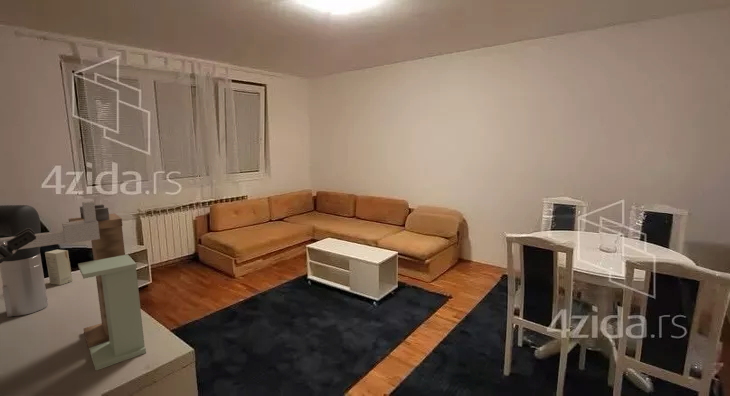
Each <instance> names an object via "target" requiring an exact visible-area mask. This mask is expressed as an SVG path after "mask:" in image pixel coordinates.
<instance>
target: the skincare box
mask: <svg viewBox="0 0 730 396" xmlns="http://www.w3.org/2000/svg"><path fill="white" fill-rule="evenodd" d="M44 255H45V261H46V267H47V273H48V279H49V284H52V285H57V286H62V285H65V284H67V283H71V282H73V273H72V269H71V268H72V267H71V261H70V258H69V257H70V256H69V250H68V249H67V250H66V249H53V250H50V251H45V252H44Z"/></svg>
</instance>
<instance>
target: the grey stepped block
mask: <svg viewBox="0 0 730 396" xmlns="http://www.w3.org/2000/svg"><path fill="white" fill-rule="evenodd" d="M81 204H82V205H81V206H83V215H84V220H83V221H74V222H69V221H66V222H62V223H61V224H62V230H58V231H57V230H56V231H49V232H41V233H38V234H34V235H35V236H36V239H35V240H33V241H32V242H30V243H28V244H26V245H25V246H23V247H21V248H19V249H26V248H33V247H40V246H41V247H48V246H53V245H61V244H65V245H66V244H67V245H68V244H74V243H80V242H81V243H82V242H88V241H91V240H97V239H100V235H99V225H98V221H97V220H96V213H95V205H96V204H95V201H93V200H92V201H91V200H89V201H82V202H81ZM15 237H16V236H14V237H11V236H4V237H0V245H1V244H2V243H4V242H8V241H9V240H11V239H13V238H15ZM8 243H9V242H8ZM41 247H40V248H41ZM19 249H18V250H19ZM16 250H17V249H16Z"/></svg>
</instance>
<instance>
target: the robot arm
mask: <svg viewBox="0 0 730 396" xmlns="http://www.w3.org/2000/svg"><path fill="white" fill-rule="evenodd" d="M41 231H42V229H41V219H40V215H39V213H38V211H37V209H36V208H34V206H31V205H27V204H16V205H15V204H14V205H13V204H12V205H11V204H8V205H7V204H5V205H0V236H1V237H2V236H3V237H14V236H16V237H15V238H13V239H11V240H9V241H8V242H9V243H8V242H4V243H2V244H1V245H0V276H1V283H2V287H1V288H2V294H3V299H4V300H3V301H4V305H5V306H4V307H5V311H6V317H7V318H10V317H17V316H24V315H30V314H33V313H36V312H39V311H41V310H43V309H45V308H47V307H48V305H49V302H48V296H47V295H48V294H47V289H46V282H45V276H44V275H45V274H44V268H43V263H42V256H41V247H42V246H40V247H33V248H26V249H19V248H21V247H23V246H25V245H26V244H28V243H30V242H32V241H33V240H35V239H36V236H35V235H34V234H38V233H42V232H41ZM16 249H17V250H16ZM18 249H19V250H18Z"/></svg>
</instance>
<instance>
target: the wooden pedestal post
mask: <svg viewBox="0 0 730 396" xmlns="http://www.w3.org/2000/svg"><path fill="white" fill-rule="evenodd" d="M79 213H80V217H71V218H68V222H74V221H83V220H84V215H83V206H82V205H81V206H79ZM95 213H96V220H97V221H98V225H99V235H100V239H97V240H90V241H91V248H92V255H93V257H92V258H93V261H95V260H100V259H106V258H111V257H116V256H122V255H126V251H125V244H124V243H125V242H124V241H125V240H124V233H123V218H122V217H120V216H119V215H118V214H116V213H110V212H109V207H106V206H105V205H104V204H95ZM95 279H96V288H97V295H98V296H97V297H98V302H99V303H98V304H99V311H100V312H99V313H100V319H101V323H97V324H94V325H91V326H87V327H84V328H83V333H84V337H85V340H86V343H87V347H88V348H91V347H94V346H97V345H100V344H103V343H106V342H109V332H108V324H107V316H106V308H105V300H104V292H103V284H102V276H101V275H99V276H95Z"/></svg>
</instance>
